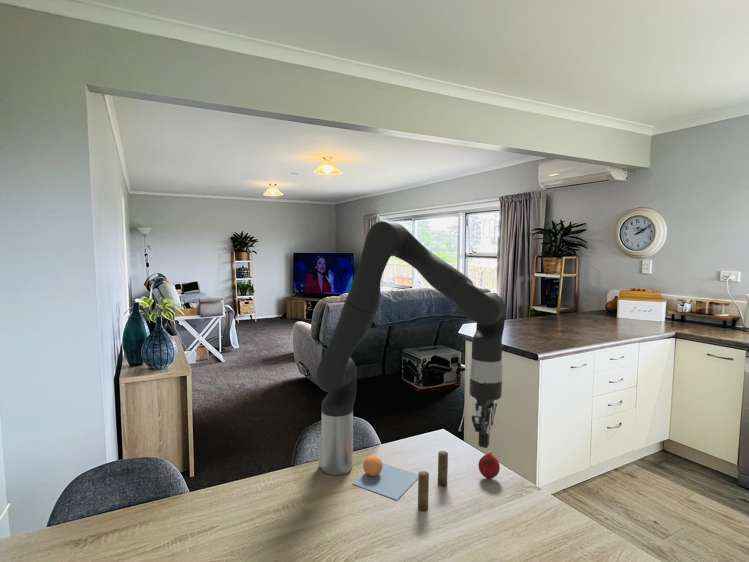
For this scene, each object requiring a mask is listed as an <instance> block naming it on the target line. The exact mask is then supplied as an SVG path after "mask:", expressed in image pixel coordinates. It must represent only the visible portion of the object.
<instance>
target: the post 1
mask: <svg viewBox="0 0 749 562" xmlns="http://www.w3.org/2000/svg"><path fill="white" fill-rule="evenodd" d="M417 474H418V479H417V509H418V511H420V512H427V511H428V510H429V488H430V487H429V485H430V483H429V482H430V478H429V477H430V474H429V472H428V471H424V470H421V471H419V472H418V473H417Z"/></svg>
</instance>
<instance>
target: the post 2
mask: <svg viewBox="0 0 749 562" xmlns="http://www.w3.org/2000/svg"><path fill="white" fill-rule="evenodd" d="M437 455H438V457H437V459H438V460H437V486H438V487H440V488H445V487H448V470H449V469H448V467H449V466H448V465H449V463H448V462H449V461H448V460H449V453H448V452H447V451H446V450H439V451H438V454H437Z"/></svg>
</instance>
